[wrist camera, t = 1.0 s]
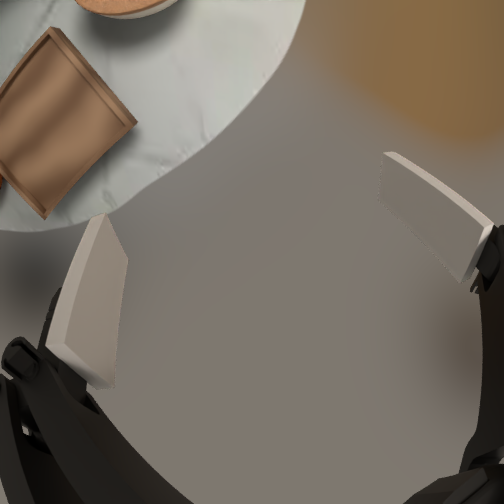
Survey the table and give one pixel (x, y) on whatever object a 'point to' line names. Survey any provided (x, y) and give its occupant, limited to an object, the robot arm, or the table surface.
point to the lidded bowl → (125, 7)
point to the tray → (55, 121)
